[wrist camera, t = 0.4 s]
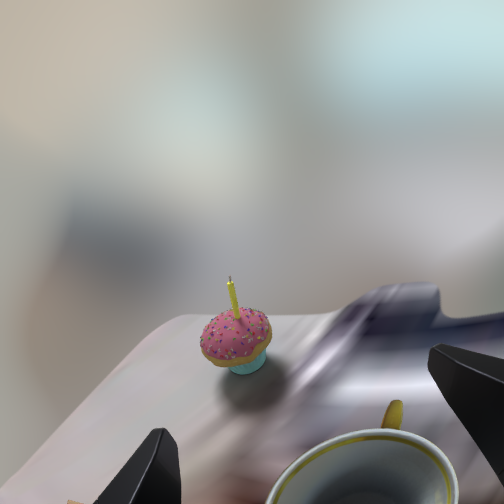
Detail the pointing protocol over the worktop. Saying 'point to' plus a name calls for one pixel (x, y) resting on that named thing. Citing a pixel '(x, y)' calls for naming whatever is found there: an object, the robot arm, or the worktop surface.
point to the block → (73, 502)
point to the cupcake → (237, 338)
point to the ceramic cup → (370, 469)
